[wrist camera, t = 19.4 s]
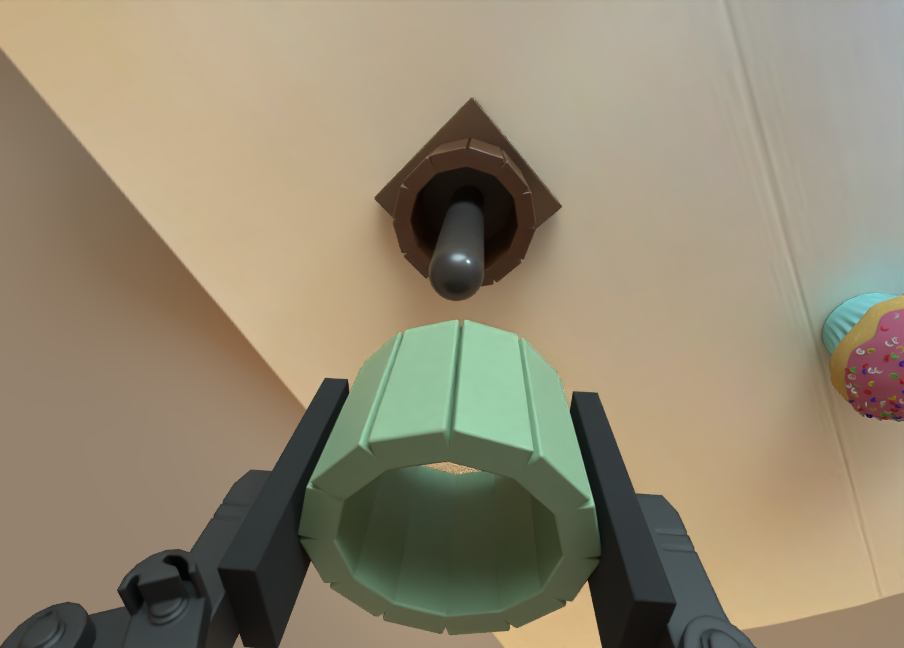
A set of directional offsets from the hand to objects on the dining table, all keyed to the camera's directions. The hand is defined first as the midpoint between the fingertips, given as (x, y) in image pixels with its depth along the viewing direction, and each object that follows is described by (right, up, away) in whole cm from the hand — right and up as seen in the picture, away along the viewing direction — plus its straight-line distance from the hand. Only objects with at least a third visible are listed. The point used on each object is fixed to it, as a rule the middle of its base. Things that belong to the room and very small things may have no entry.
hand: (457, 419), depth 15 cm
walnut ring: (+1, +10, +12) cm, 16 cm away
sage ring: (0, 0, 0) cm, 0 cm away
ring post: (+1, +11, +13) cm, 17 cm away
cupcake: (+27, +3, +16) cm, 32 cm away
